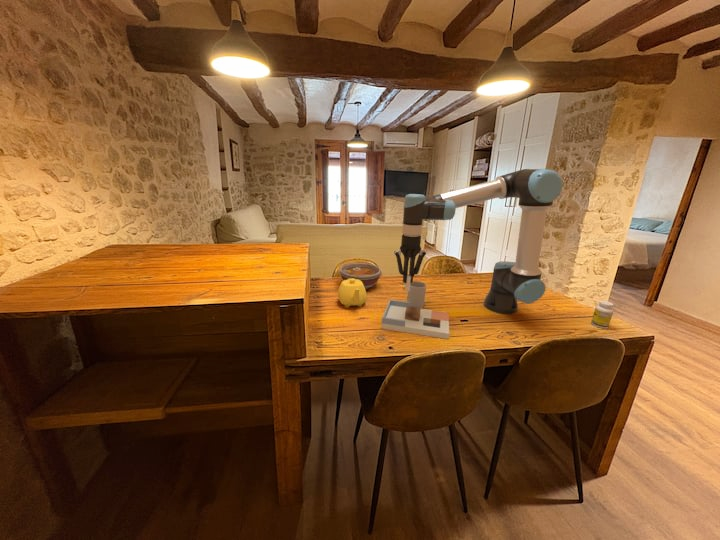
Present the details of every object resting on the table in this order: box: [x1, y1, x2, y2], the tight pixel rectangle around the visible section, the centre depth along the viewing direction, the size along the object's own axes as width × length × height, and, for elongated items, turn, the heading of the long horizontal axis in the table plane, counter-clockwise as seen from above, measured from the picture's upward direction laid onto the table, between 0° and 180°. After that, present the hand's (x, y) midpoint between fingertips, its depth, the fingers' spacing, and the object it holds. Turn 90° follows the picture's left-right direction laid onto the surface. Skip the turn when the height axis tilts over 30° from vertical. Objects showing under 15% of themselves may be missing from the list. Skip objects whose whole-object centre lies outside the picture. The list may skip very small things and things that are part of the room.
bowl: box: [339, 262, 382, 290], centre depth 168 cm, size 23×23×10 cm
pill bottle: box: [590, 300, 614, 329], centre depth 131 cm, size 6×6×11 cm
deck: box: [381, 299, 450, 340], centre depth 129 cm, size 27×19×5 cm
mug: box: [406, 280, 427, 309], centre depth 147 cm, size 12×8×11 cm
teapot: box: [337, 278, 368, 309], centre depth 144 cm, size 14×20×13 cm
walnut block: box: [405, 306, 422, 321], centre depth 129 cm, size 6×6×4 cm
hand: (406, 289), depth 125 cm, fingers closed
